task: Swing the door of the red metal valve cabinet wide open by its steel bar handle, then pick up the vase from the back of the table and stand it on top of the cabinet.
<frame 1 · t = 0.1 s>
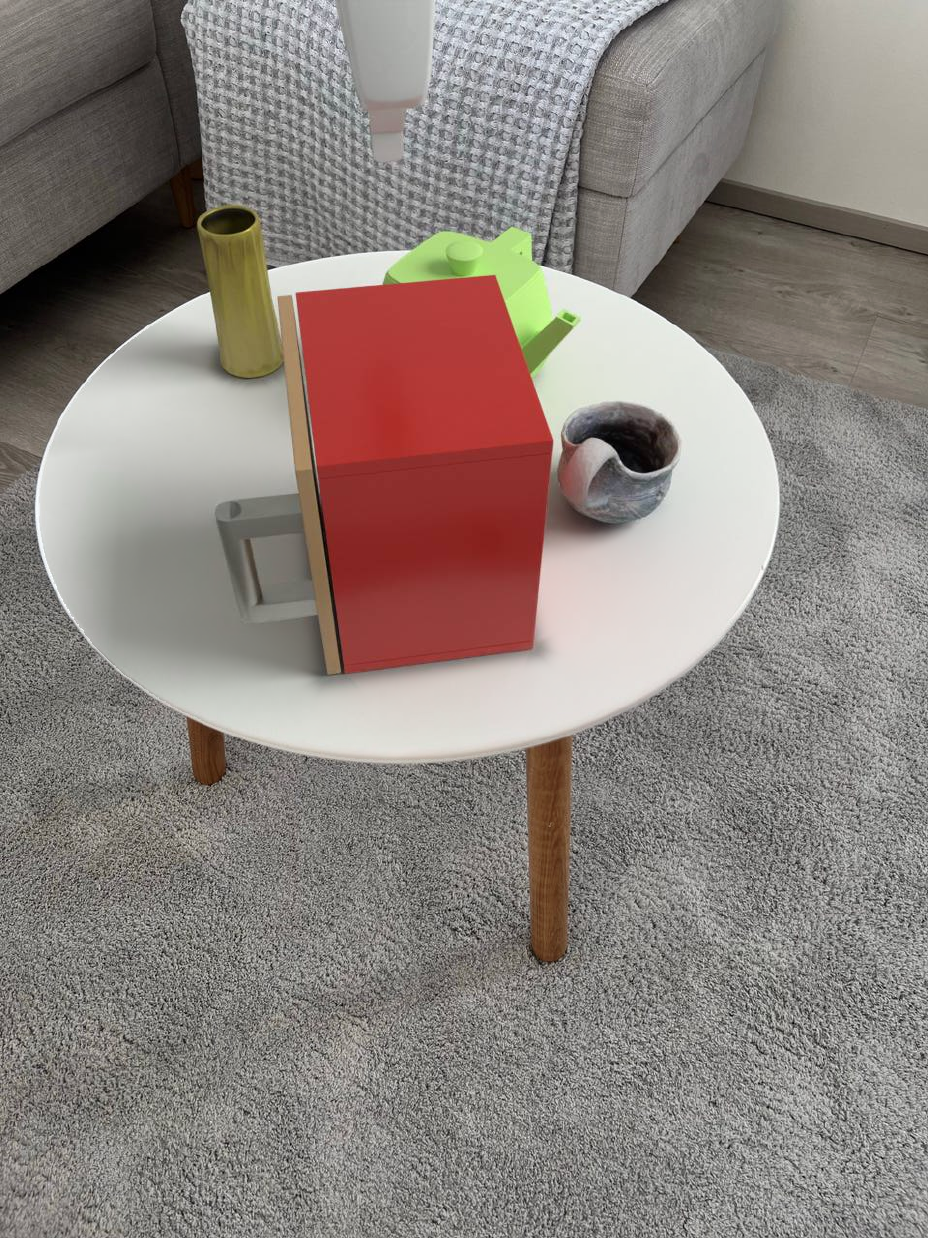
hand: (377, 120, 63), 31 cm above the table, tool pointing down, fingers open, 8 cm apart
cabinet: (422, 572, 80), on the table
mug: (605, 515, 85), on the table
teapot: (480, 383, 96), on the table
vase: (253, 361, 98), on the table
door: (271, 494, 71), point 10 cm above the table, hinge at 0.0°
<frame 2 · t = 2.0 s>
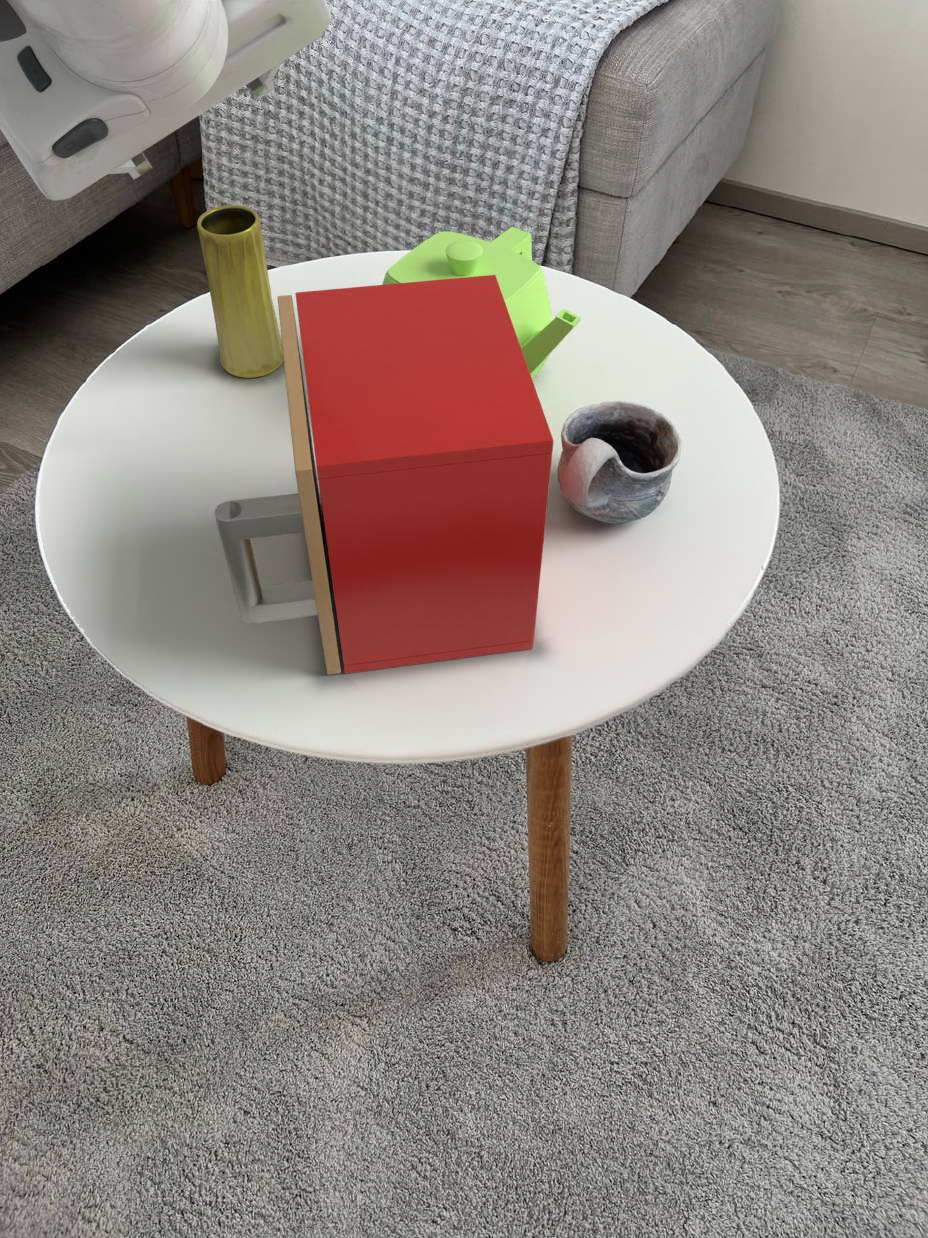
hand: (198, 124, 66), 29 cm above the table, tool tilted 45°, fingers open, 8 cm apart
nothing on the table moved.
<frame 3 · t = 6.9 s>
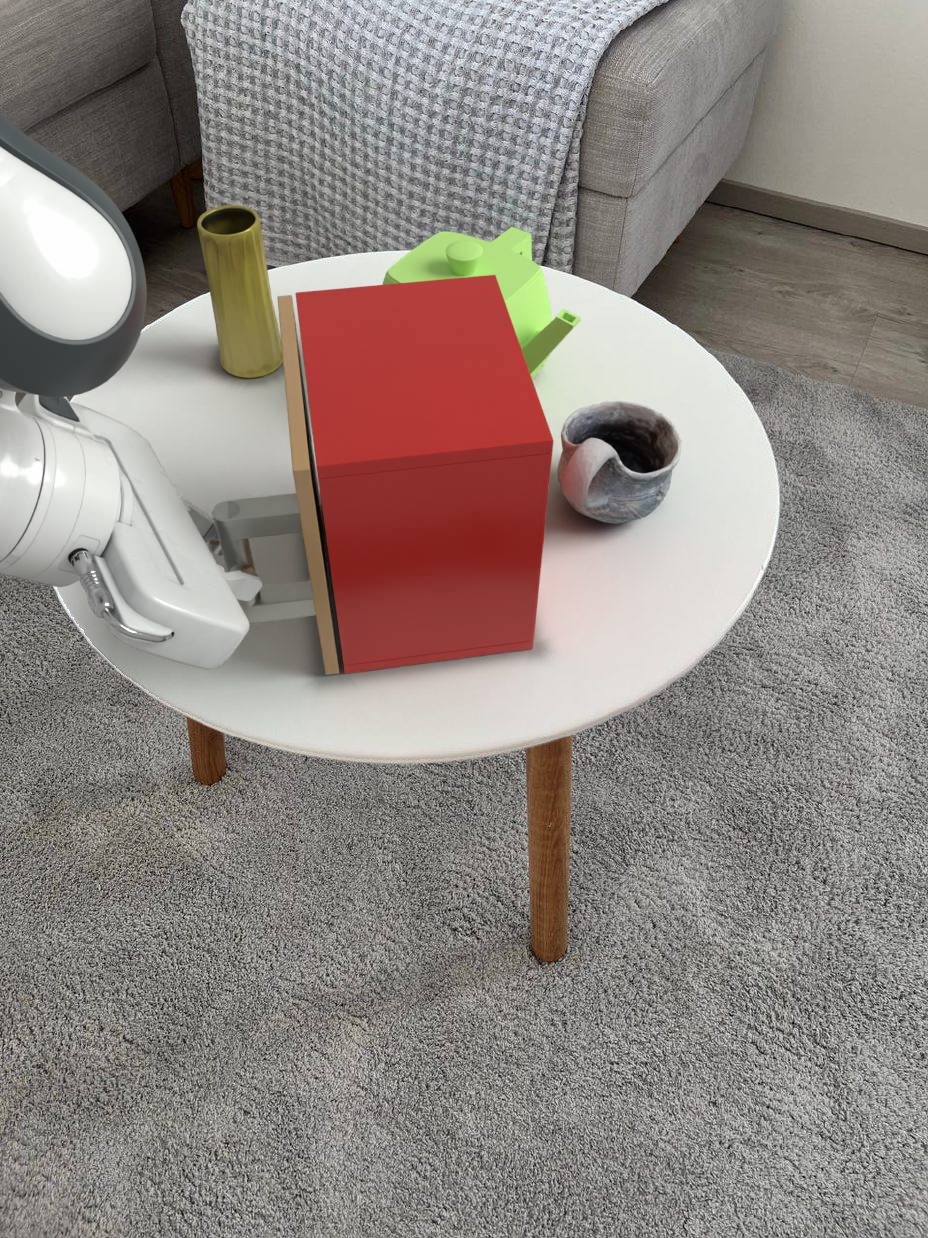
hand: (240, 562, 68), 9 cm above the table, tool tilted 45°, fingers open, 3 cm apart
door: (270, 493, 71), point 10 cm above the table, hinge at 0.4°, touching gripper
everything else where it was.
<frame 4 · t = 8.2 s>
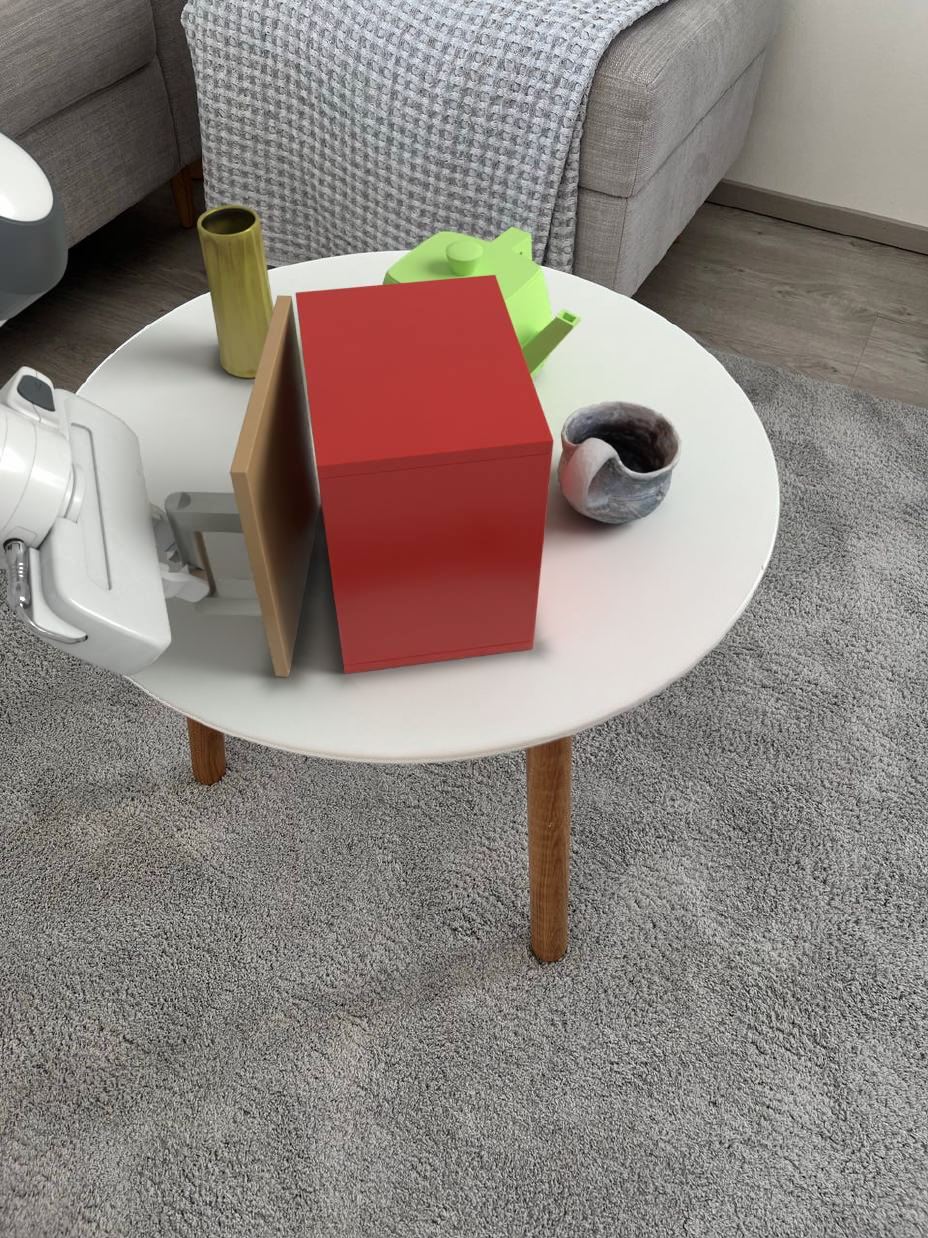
hand: (199, 570, 69), 8 cm above the table, tool tilted 40°, fingers closed, pressing on door
door: (245, 489, 72), point 10 cm above the table, hinge at 12.0°, touching gripper
everything else where it was.
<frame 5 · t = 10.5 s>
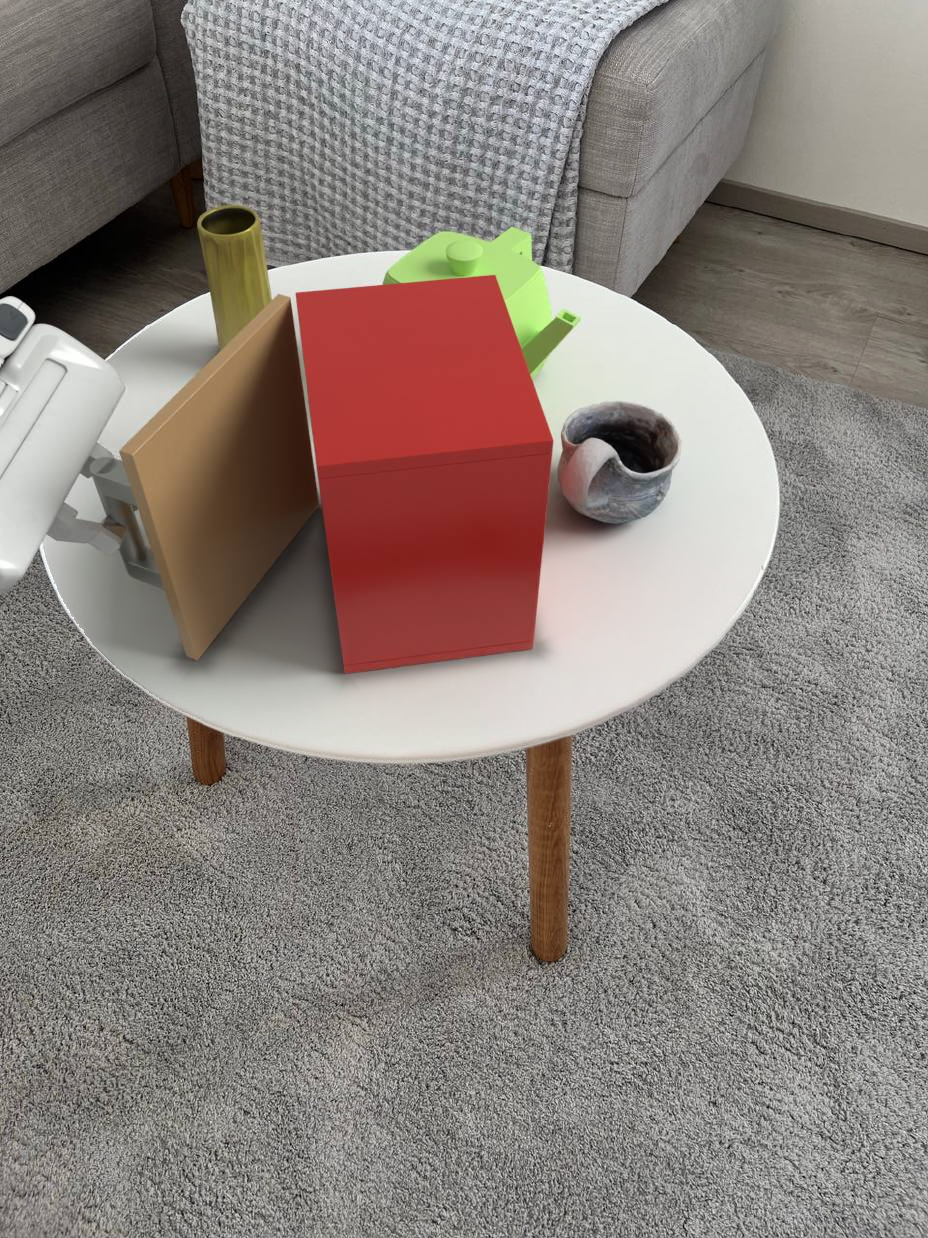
hand: (129, 524, 70), 9 cm above the table, tool tilted 45°, fingers closed
door: (204, 471, 73), point 10 cm above the table, hinge at 34.3°, touching gripper
everything else where it was.
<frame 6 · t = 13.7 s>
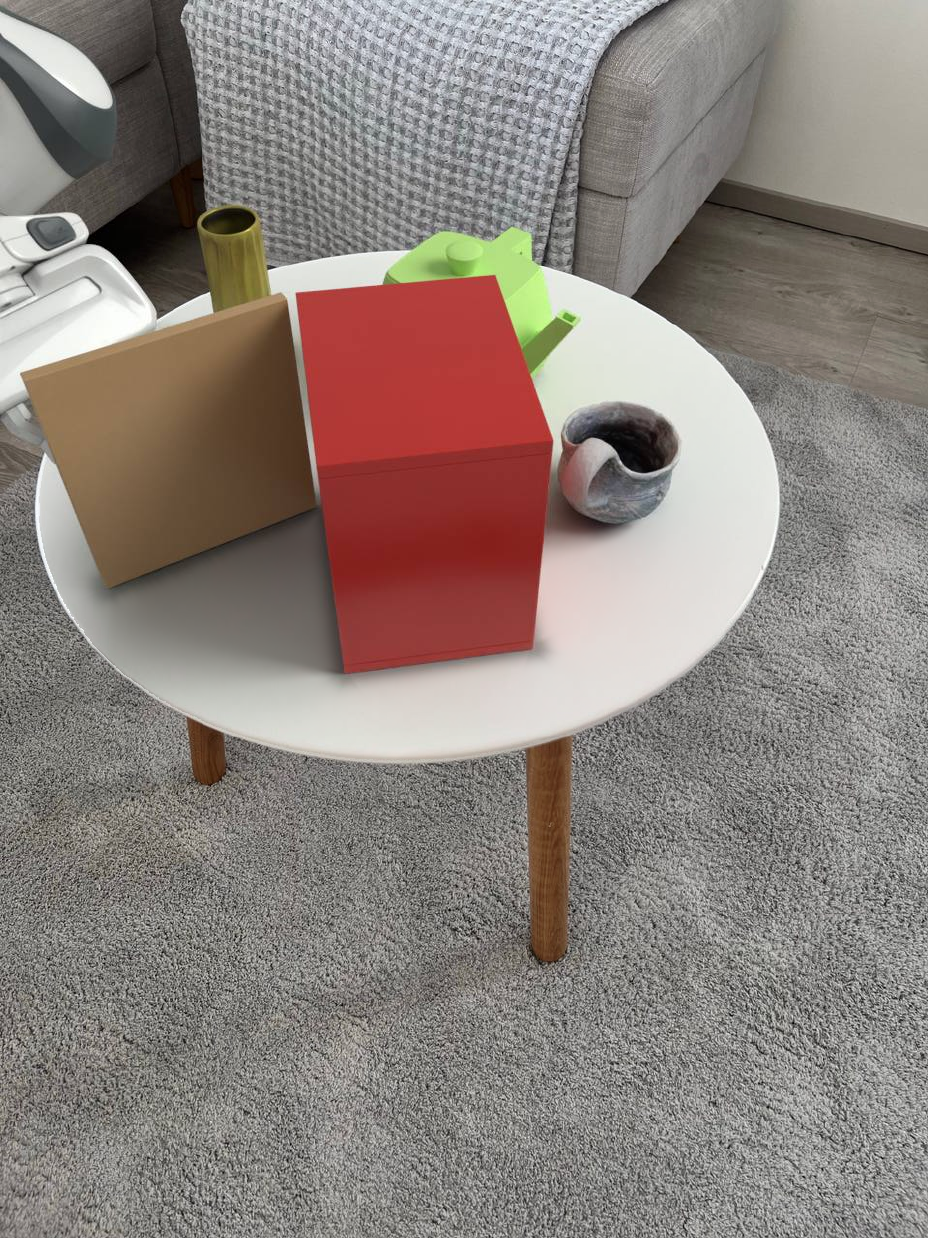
hand: (90, 443, 76), 9 cm above the table, tool tilted 45°, fingers open, 3 cm apart
door: (175, 428, 76), point 10 cm above the table, hinge at 68.9°, touching gripper
everything else where it was.
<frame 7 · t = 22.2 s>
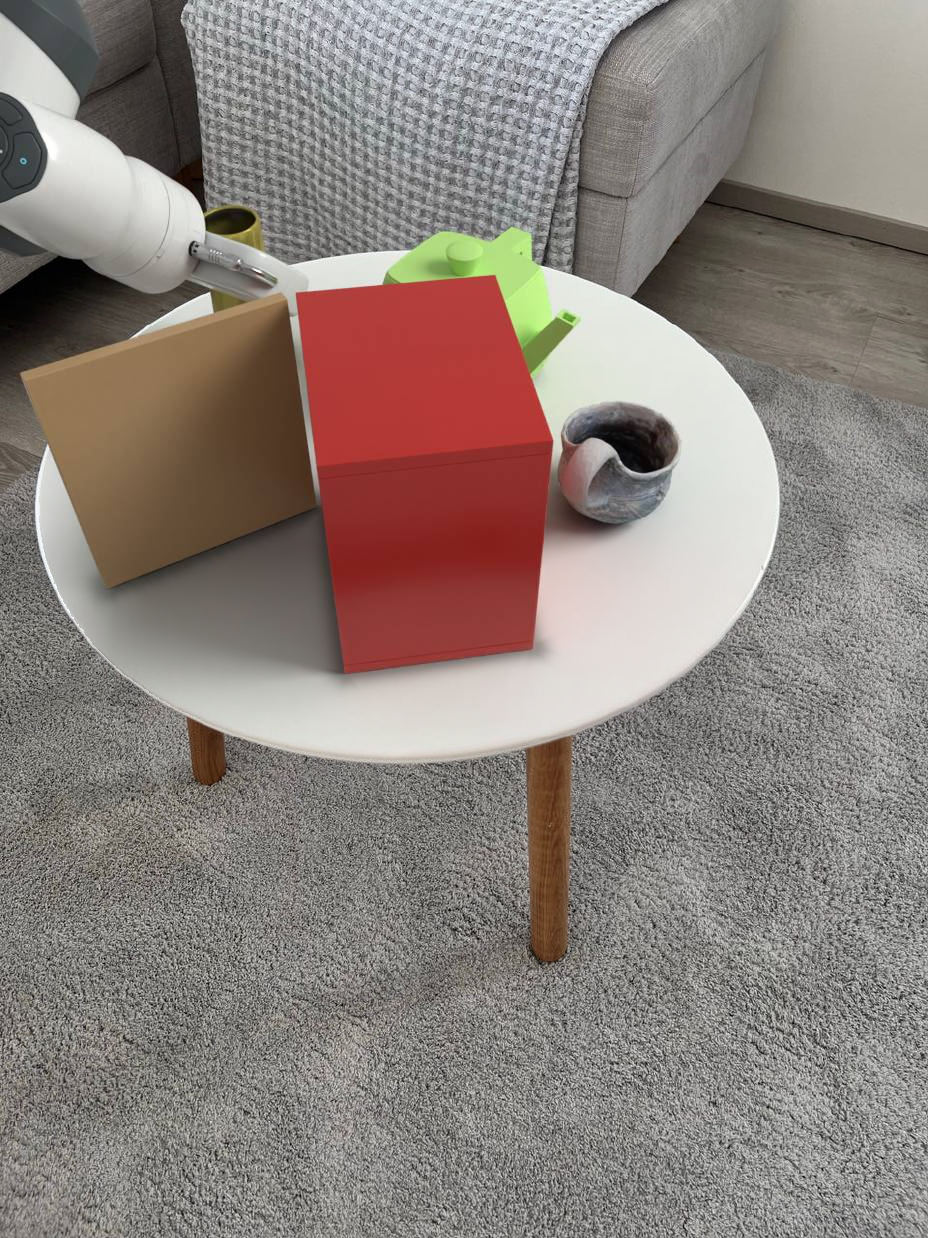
hand: (243, 283, 92), 8 cm above the table, tool tilted 45°, fingers closed on vase, 5 cm apart
vase: (253, 361, 98), on the table, touching gripper
door: (175, 428, 76), point 10 cm above the table, hinge at 68.9°
everything else where it was.
when the fingers open (28 cm above the table, at t = 32.6 s): vase stays where it is, resting on cabinet.
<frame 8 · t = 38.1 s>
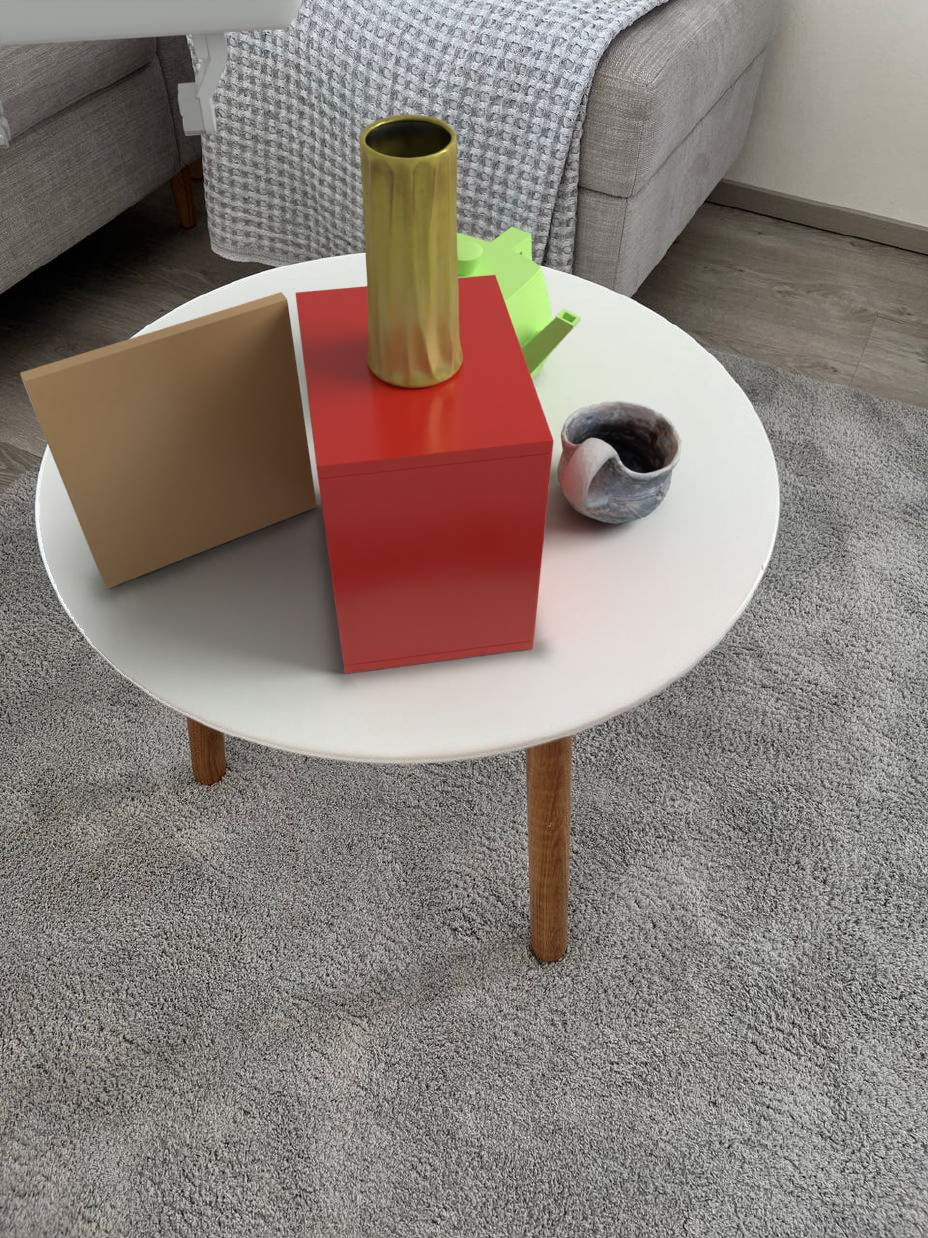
hand: (98, 136, 47), 37 cm above the table, tool pointing down, fingers open, 8 cm apart
vase: (415, 363, 65), point 20 cm above the table, touching cabinet
everything else where it was.
at the end: door at +69° (first picture: +0°); vase inside the target area on the cabinet (0.0 cm from its centre), point 19.8 cm above the cabinet's base; vase tilted 0° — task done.
